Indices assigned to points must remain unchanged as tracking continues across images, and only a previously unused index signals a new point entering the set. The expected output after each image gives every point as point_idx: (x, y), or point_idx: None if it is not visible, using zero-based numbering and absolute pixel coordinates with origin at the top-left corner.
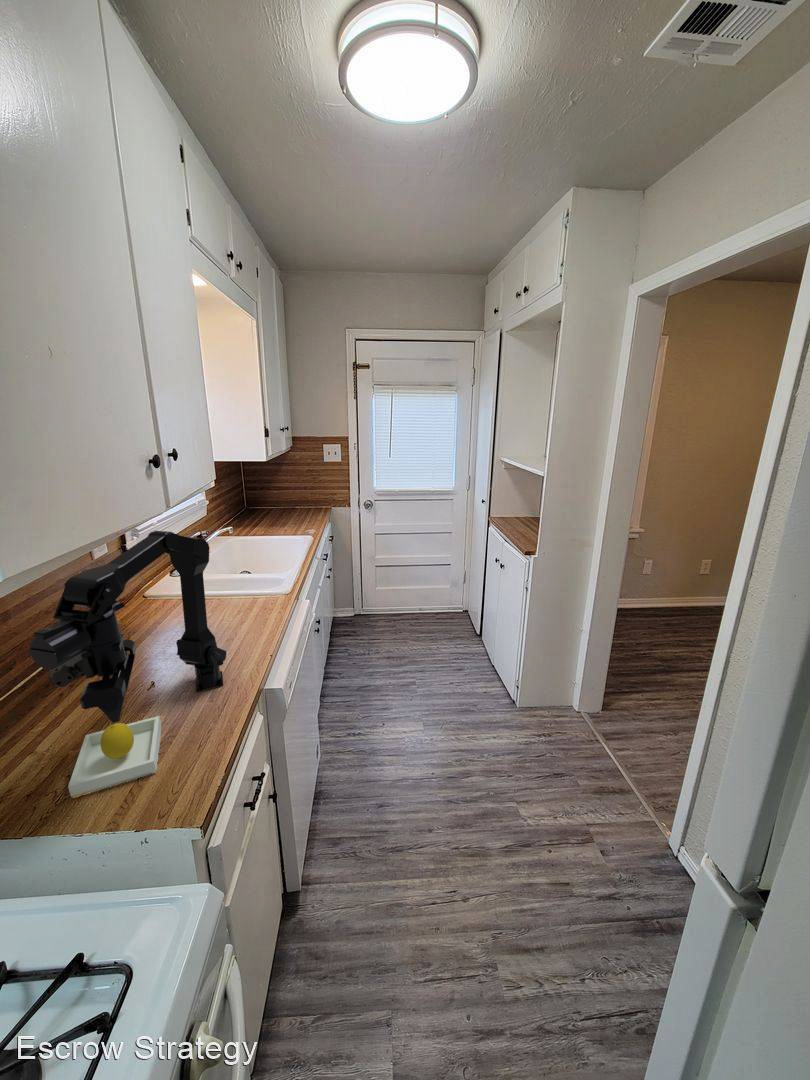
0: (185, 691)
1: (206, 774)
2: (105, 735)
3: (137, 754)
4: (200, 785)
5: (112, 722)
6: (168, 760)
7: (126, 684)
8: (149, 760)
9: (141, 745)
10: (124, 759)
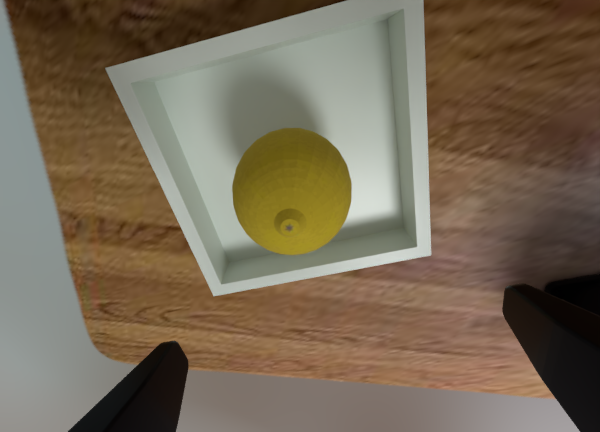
0: (576, 251)
1: (211, 355)
2: (250, 191)
3: None
4: None
5: (158, 347)
6: None
7: (560, 397)
8: (217, 285)
9: None
10: None
